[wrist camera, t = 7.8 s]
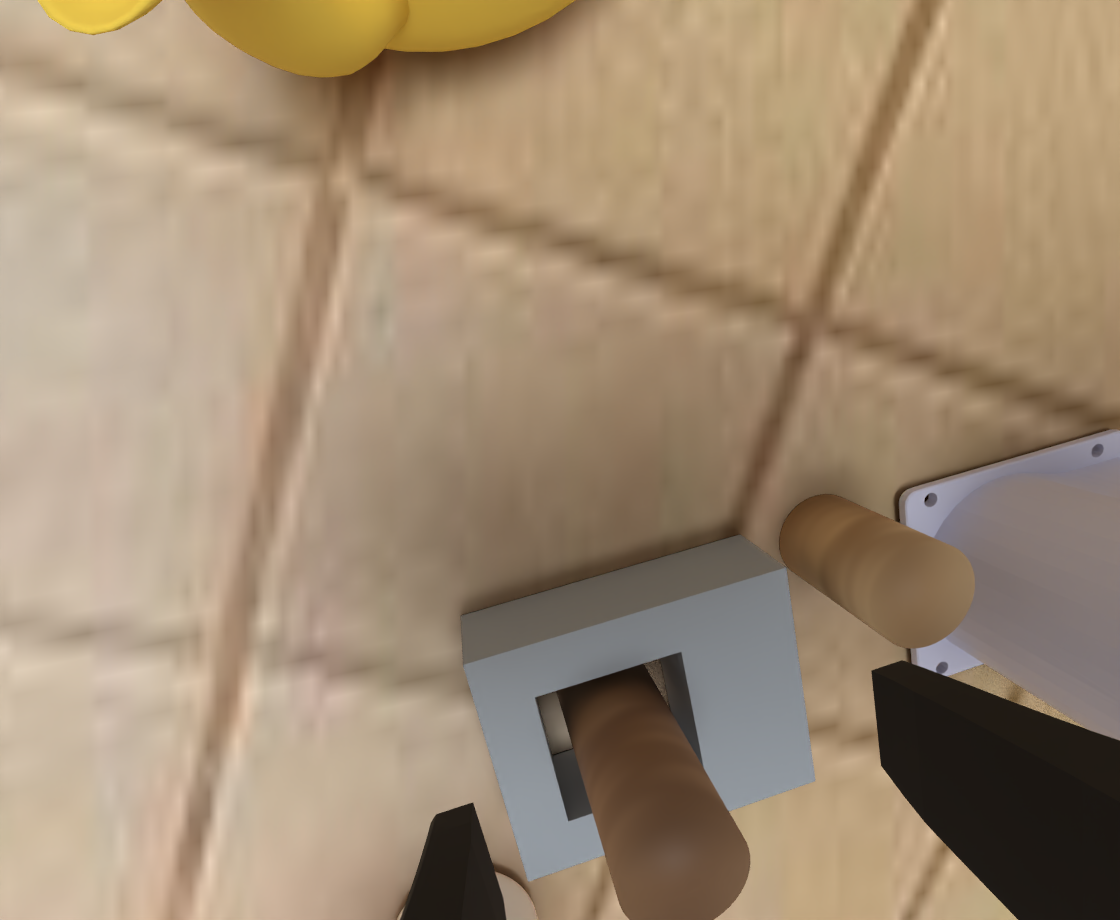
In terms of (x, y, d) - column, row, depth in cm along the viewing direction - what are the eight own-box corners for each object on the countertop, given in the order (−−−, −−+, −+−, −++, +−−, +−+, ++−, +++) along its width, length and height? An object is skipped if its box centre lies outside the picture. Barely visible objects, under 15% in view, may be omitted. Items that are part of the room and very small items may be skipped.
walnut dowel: (636, 627, 21) (744, 799, 14) (648, 705, 22) (755, 909, 14) (548, 649, 21) (607, 839, 13) (563, 727, 22) (627, 950, 14)
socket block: (740, 534, 21) (786, 567, 18) (769, 724, 23) (815, 781, 20) (460, 615, 20) (463, 665, 17) (517, 808, 22) (528, 881, 19)
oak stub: (855, 484, 22) (972, 529, 17) (863, 564, 22) (977, 629, 18) (773, 507, 21) (869, 561, 16) (785, 588, 22) (879, 662, 17)
